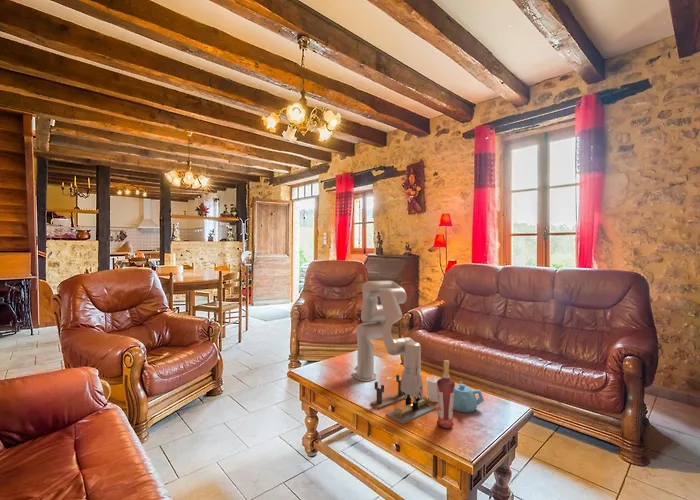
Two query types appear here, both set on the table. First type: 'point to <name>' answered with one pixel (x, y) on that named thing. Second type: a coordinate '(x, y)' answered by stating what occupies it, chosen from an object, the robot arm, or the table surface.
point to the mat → (412, 414)
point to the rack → (387, 400)
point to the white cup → (432, 388)
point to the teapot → (466, 398)
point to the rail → (409, 407)
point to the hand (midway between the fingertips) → (411, 408)
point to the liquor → (445, 398)
